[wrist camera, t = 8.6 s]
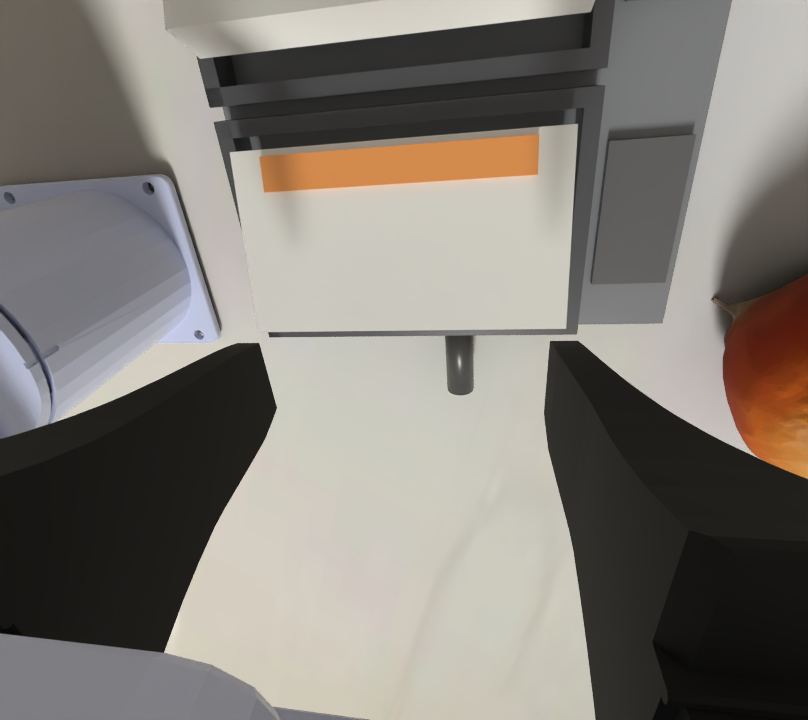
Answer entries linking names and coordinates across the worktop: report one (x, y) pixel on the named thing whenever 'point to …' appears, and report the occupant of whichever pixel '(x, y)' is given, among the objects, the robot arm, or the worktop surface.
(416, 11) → the rocker middle
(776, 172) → the worktop surface
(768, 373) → the fruit
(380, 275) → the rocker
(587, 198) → the rocker switch panel
